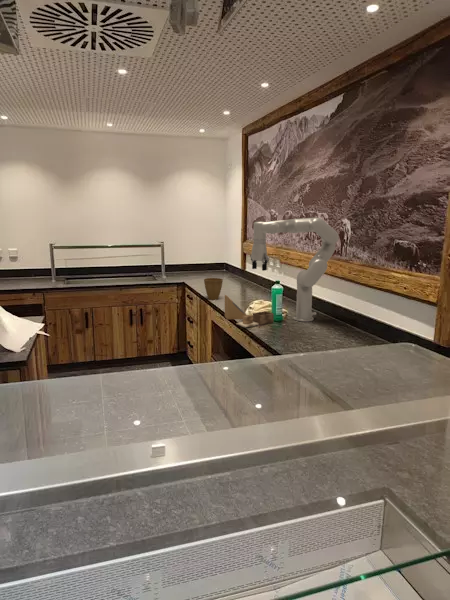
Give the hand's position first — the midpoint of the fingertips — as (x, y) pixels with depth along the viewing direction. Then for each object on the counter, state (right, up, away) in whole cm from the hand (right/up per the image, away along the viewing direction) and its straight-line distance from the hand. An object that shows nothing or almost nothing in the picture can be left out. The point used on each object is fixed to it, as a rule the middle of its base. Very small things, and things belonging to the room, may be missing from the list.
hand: (259, 269), depth 262 cm
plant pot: (-31, -19, +72) cm, 80 cm away
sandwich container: (-13, -31, +12) cm, 36 cm away
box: (+2, -33, -2) cm, 33 cm away
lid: (-8, -34, -8) cm, 36 cm away
